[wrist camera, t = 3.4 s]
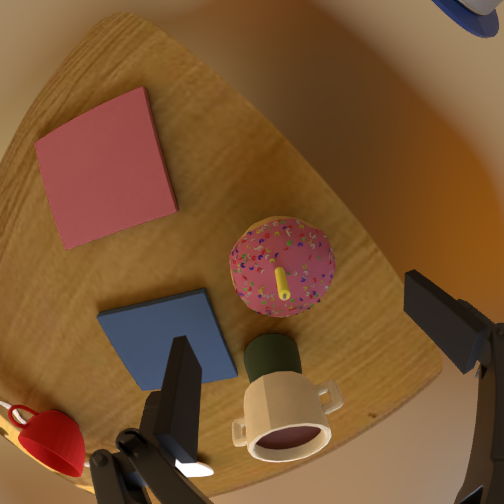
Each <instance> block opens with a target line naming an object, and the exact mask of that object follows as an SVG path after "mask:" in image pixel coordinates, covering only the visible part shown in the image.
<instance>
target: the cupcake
mask: <svg viewBox="0 0 504 504" xmlns="http://www.w3.org/2000/svg"><path fill="white" fill-rule="evenodd" d="M333 251H334V250H333V249H332V248H331V246H330V244H329V242H328V240H327V237H326V236H325V234H324V233H323V232H322V231H321V230H320V229H319V228H318V227H316V226H314V225H312V224H310V223H308V222H306V221H304V220H301V219H298V218H295V217H290V216H272V217H268V218H266V219H264V220H261V221H259V222H256V223H254V224H252V225H251V226H250V227H249V228H248V229H247V231H246V232H245V233H244V234H243V235H242V237H241V238H240V239H239V240H238V241H237V242H236V244H235V245H234V247H233V248H232V251H231V253H230V257H229V265H230V272H231V277H232V281H233V285H234V288H235V291H236V293H237V294H238V295H239V296H240V298H241V299H242V300H243V301H244V302H245V306H246V305H247V306H248V307H249V308H251V309H253V310H254V311H255V312H257V313H258V312H259V313H258V314H261V313H262V314H265V315H268V316H272V317H280V318H283V317H289V316H290V315H294V314H296V315H297V314H298V313H300V312H302V313H303V312H304V311H305V310H307V309H310V307H312V306H313V305H314V304H315V303H316V302H320V301H319V300H320V298H321V297H322V296H323V295H324V294H325V292H326V291H327V290H328V288H329V286H330V283H331V281H332V278H333V275H334V272H335V267H336V263H335V257H334V254H333Z"/></svg>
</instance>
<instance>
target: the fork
mask: <svg viewBox="0 0 504 504" xmlns="http://www.w3.org/2000/svg"><path fill="white" fill-rule="evenodd" d="M0 405H2V406H4V407H6V408H7V409H10V407H11V405H9V404H7V403H5V402H2V401H0ZM13 414H14V415H15V416H16V417H17V419H18V420H19V421H20V422H22V423H23V424H25V423H26V422H25V421H24V420H23V419H22V418H21V417H20V416H19V413H18V411H17V410H16V409H14V410H13Z"/></svg>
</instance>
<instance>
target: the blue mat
mask: <svg viewBox="0 0 504 504" xmlns="http://www.w3.org/2000/svg"><path fill="white" fill-rule="evenodd" d="M97 319H98V321H99V323H100V325H101V326H102V328H103V330H104V332H105V334H106V335H107V337H108V339H109V340H110V342H111V344H112V345H113V347H114V349H115V350H116V352H117V354H118V355H119V357H120V358H121V360H122V362H123V363H124V365H125V366H126V368H127V369H128V371H129V372H130V374H131V375H132V377H133V378H134V380H135V381H136V383H137V384H138V385H139V387H140V388H141V390H142V391H144V390H154V389H161V388H162V384H163V379H164V375H165V370H166V366H167V362H168V358H169V353H170V349H171V345H172V341H173V338H174V337H179V336H184V335H186V337H187V339H188V341H189V343H190V345H191V347H192V349H193V351H194V353H195V355H196V357H197V359H198V361H199V363H200V365H201V367H202V382H201V383H207V382H213V381H218V380H224V379H229V378H234V377H238V372H237V369H236V367H235V364H234V362H233V359H232V357H231V354H230V352H229V350H228V347H227V345H226V342H225V340H224V337H223V334H222V332H221V329H220V327H219V324H218V322H217V319H216V316H215V314H214V311H213V308H212V306H211V303H210V300H209V297H208V295H207V292H206V289H205V288H202V289H198V290H194V291H190V292H186V293H182V294H177V295H173V296H169V297H165V298H161V299H156V300H152V301H148V302H143V303H139V304H135V305H130V306H126V307H122V308H117V309H113V310H108V311H104V312H99V314H98V315H97Z"/></svg>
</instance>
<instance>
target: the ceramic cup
mask: <svg viewBox="0 0 504 504" xmlns="http://www.w3.org/2000/svg"><path fill="white" fill-rule="evenodd" d="M18 408H20V409H24V410H26V411H28V412H30V413H32V414H33V415H34V416H33V417H32V418H31V419H30V420H29V421H28V422H27V423H25V424H19V423H18V422H16V421H15V420H14V418H13V416H12V412H13V410H14V409H18ZM8 416H9V419H10V421H11V422H12V423H13V424H14V425H15V426H17V427H19V428H22V431H21V432H20V434H19V436H18V440H19V442H20V444H21V445H22V446H23V447H24V448H25V449H26V450H27V451H28V452H29V453H30V454H31V455H32V456H34V457H35V458H36V459H38V460H39V461H41V462H42V463H44V464H45V465H47V466H49V467H50V468H52V469H54V470H56V471H58V472H60V473H63V474H65V475H68V476H72V477H80V476H81V475H82V471H83V467H84V461H85V444H84V440H83V437H82V434H81V432H80V430H79V427H78V425H77V424H76V422H75V421H74V420H72V419H71V418H70V417H69V416H67V415H65V414H64V413H62V412H60V411H57V410H50V411H44V412H41V413H37V412H36V411H34V410H32V409H30V408H28V407H26V406H24V405H13V406H11V407H10V409H9V411H8Z"/></svg>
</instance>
